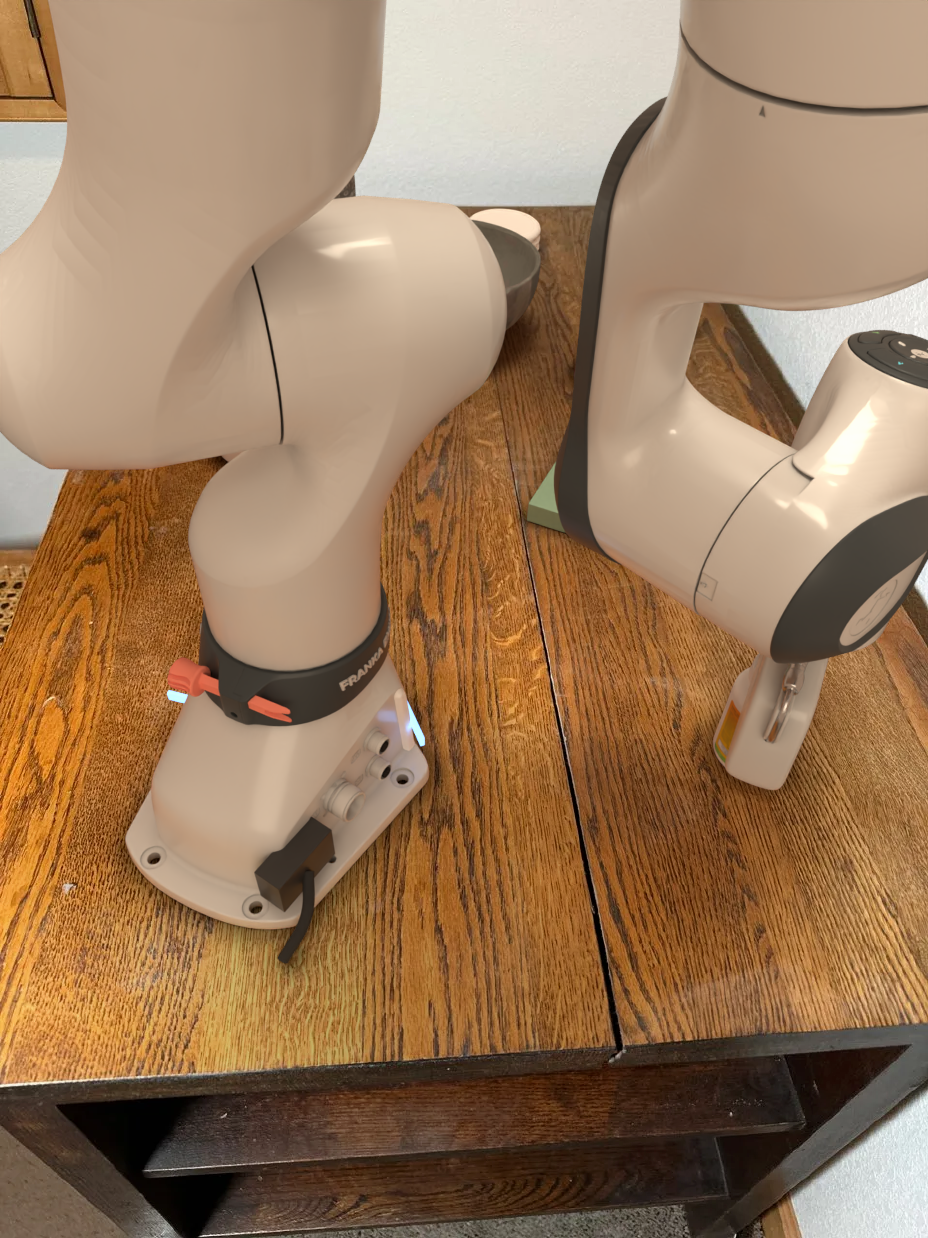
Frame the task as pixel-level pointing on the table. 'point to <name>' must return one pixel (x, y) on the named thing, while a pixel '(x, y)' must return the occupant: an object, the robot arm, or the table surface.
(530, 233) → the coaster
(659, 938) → the table surface
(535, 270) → the bowl
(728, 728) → the supplement bottle
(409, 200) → the robot arm
